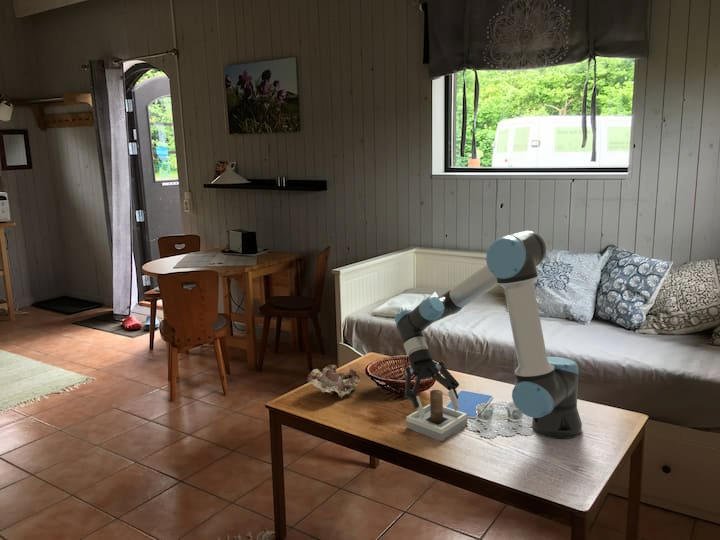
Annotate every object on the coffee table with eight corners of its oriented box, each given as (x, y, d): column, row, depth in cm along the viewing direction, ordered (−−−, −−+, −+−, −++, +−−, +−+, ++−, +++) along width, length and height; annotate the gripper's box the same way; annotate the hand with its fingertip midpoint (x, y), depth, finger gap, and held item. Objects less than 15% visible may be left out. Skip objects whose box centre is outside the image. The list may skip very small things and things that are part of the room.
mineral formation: (318, 405, 216) (328, 381, 214) (295, 380, 227) (305, 357, 225) (364, 405, 231) (374, 383, 229) (340, 382, 242) (350, 360, 240)
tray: (467, 425, 199) (467, 413, 198) (441, 441, 189) (441, 429, 188) (432, 413, 209) (432, 402, 208) (406, 427, 199) (406, 416, 198)
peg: (445, 426, 199) (445, 391, 196) (438, 430, 196) (437, 395, 194) (435, 422, 202) (435, 388, 199) (428, 426, 199) (427, 392, 196)
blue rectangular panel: (475, 421, 203) (475, 417, 203) (440, 413, 209) (440, 410, 209) (493, 399, 219) (493, 395, 219) (460, 392, 225) (460, 389, 225)
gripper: (445, 352, 213) (468, 410, 202) (382, 363, 205) (403, 424, 194) (453, 342, 207) (477, 401, 197) (388, 353, 199) (410, 415, 188)
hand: (440, 413), depth 195 cm, fingers open, 12 cm apart
